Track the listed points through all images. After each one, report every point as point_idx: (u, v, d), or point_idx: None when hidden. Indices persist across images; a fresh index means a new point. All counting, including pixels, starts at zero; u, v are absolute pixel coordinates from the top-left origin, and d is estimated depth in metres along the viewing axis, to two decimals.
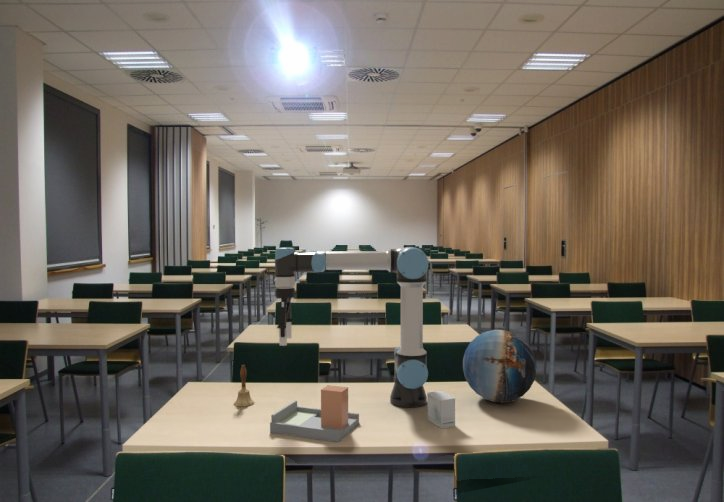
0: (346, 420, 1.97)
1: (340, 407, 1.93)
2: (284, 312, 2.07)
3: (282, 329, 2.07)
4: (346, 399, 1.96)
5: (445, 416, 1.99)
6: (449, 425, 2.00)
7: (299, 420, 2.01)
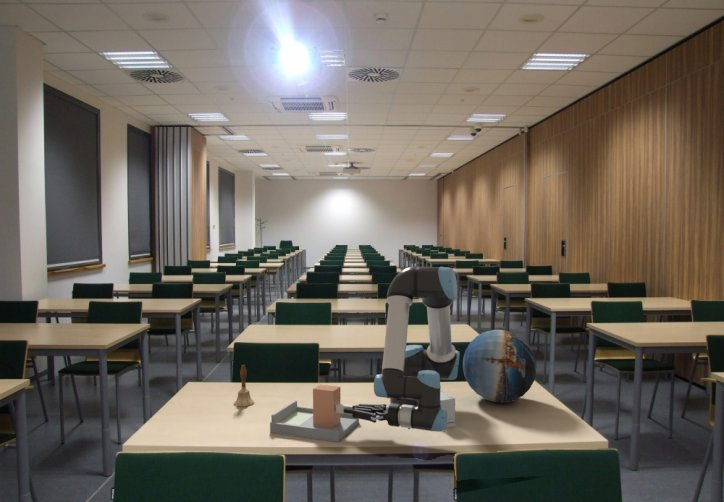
0: (338, 419, 1.97)
1: (332, 406, 1.93)
2: None
3: None
4: (338, 398, 1.97)
5: None
6: (449, 425, 2.00)
7: (299, 420, 2.01)
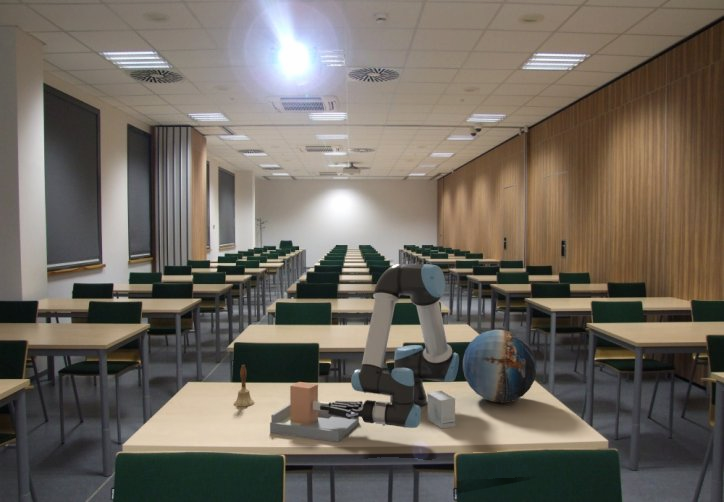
0: (315, 416, 2.01)
1: (308, 403, 1.97)
2: None
3: None
4: (315, 396, 2.00)
5: (445, 416, 1.99)
6: (449, 425, 2.00)
7: None
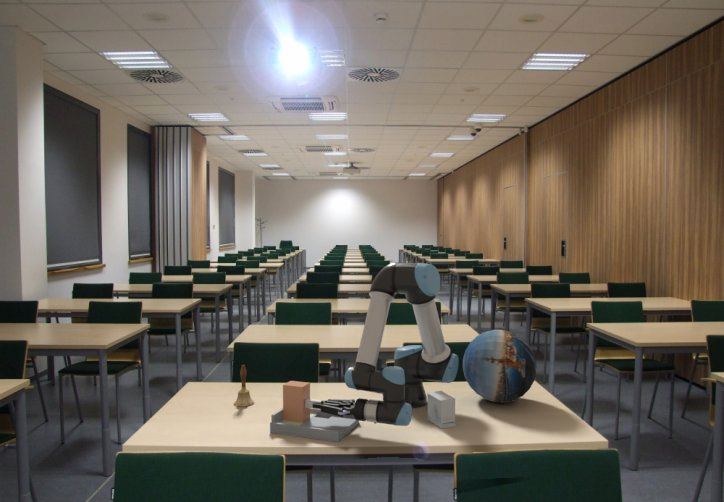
0: (308, 414, 2.03)
1: (301, 402, 1.99)
2: None
3: None
4: (308, 394, 2.02)
5: (445, 416, 1.99)
6: (449, 425, 2.00)
7: None
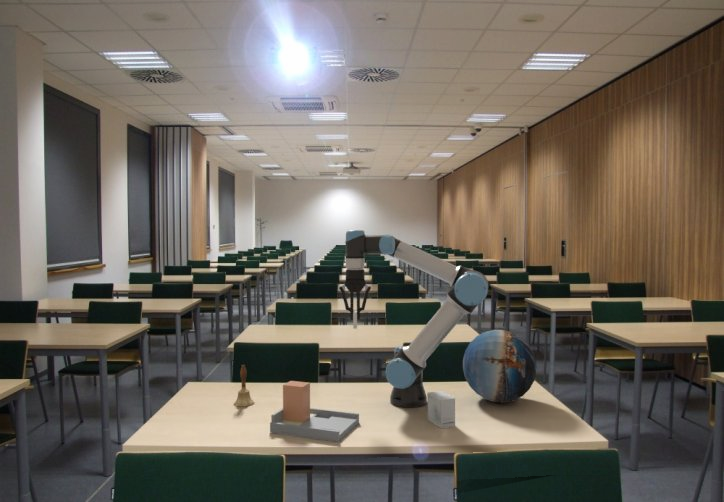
0: (308, 414, 2.03)
1: (301, 402, 1.99)
2: None
3: (350, 312, 2.20)
4: (308, 394, 2.02)
5: (445, 416, 1.99)
6: (449, 425, 2.00)
7: None
